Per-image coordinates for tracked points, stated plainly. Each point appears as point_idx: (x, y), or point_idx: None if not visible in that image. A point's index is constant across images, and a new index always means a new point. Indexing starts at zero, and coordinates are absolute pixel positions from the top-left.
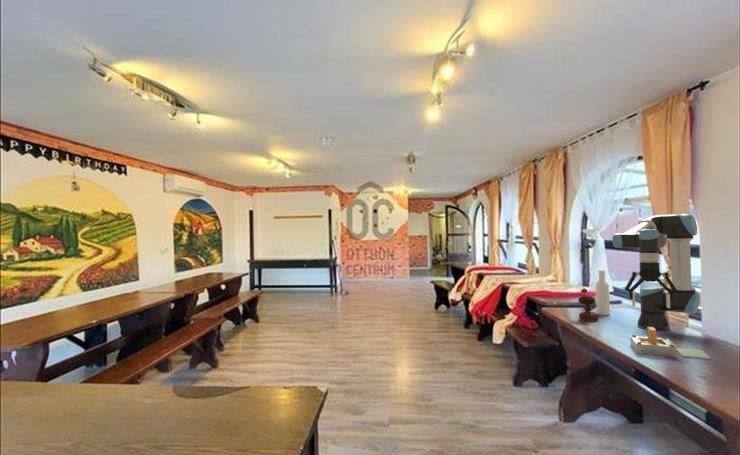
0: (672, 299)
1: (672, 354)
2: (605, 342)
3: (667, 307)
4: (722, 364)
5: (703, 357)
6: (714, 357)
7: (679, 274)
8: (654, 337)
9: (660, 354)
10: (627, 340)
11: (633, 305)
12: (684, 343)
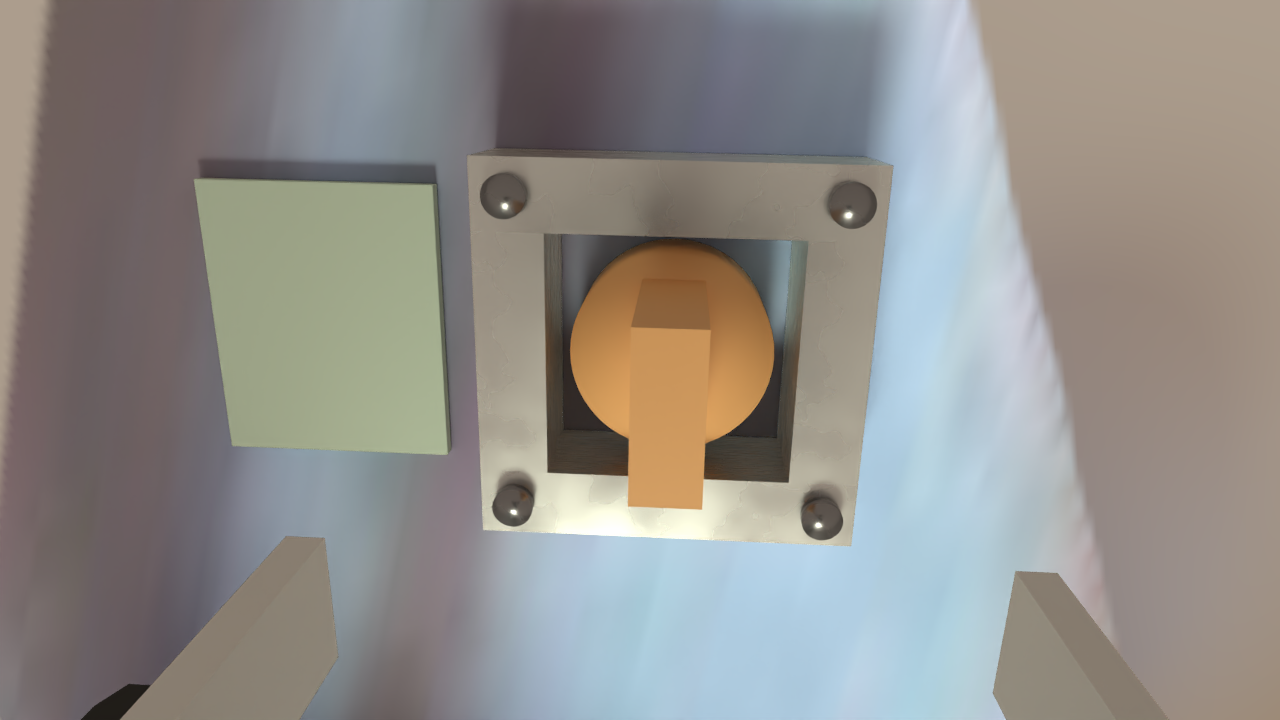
0: (95, 711)
1: (526, 149)
2: (1071, 515)
3: (331, 603)
4: (132, 21)
5: (256, 181)
6: (164, 262)
7: None
8: (661, 300)
9: (638, 152)
10: (820, 645)
11: (1062, 584)
12: (334, 669)
